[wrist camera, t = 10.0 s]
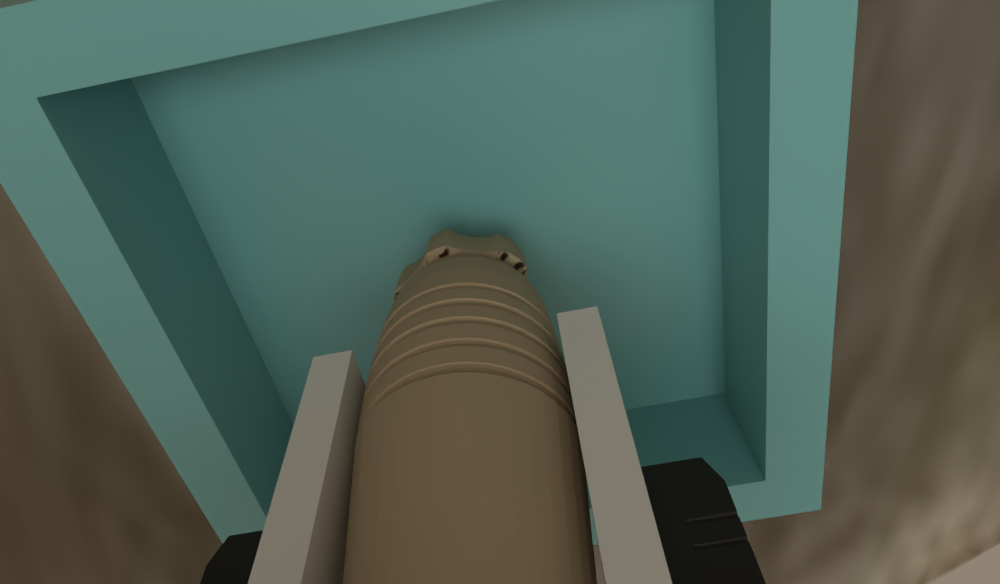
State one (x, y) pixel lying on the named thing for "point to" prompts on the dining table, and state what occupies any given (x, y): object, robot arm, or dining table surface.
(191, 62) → the parts tray
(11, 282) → the dining table surface
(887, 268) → the dining table surface
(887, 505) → the dining table surface
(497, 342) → the handle
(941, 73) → the dining table surface
